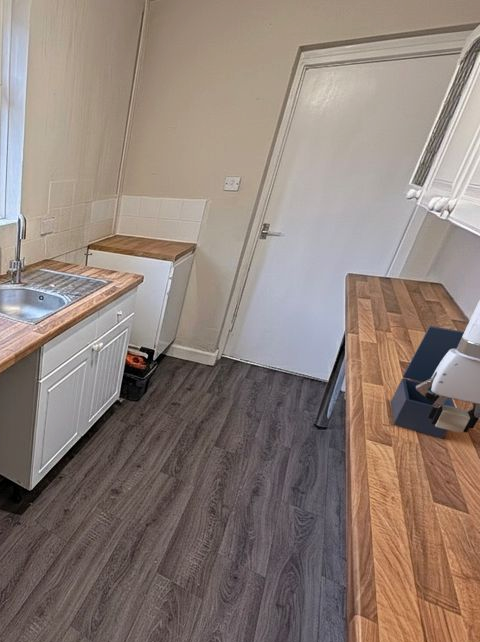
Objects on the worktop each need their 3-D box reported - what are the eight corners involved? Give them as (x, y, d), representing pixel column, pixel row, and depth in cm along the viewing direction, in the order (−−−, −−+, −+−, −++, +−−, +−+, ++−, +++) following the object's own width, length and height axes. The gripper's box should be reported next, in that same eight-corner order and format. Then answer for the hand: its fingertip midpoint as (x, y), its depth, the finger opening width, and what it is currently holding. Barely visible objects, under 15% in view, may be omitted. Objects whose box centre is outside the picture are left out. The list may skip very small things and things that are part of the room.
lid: (481, 336, 102) (481, 334, 102) (429, 327, 107) (429, 325, 108) (449, 388, 110) (449, 386, 111) (402, 377, 115) (402, 375, 116)
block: (459, 425, 92) (467, 410, 90) (462, 433, 89) (470, 417, 87) (433, 419, 94) (440, 404, 92) (435, 426, 91) (442, 411, 90)
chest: (442, 438, 103) (457, 412, 100) (393, 424, 108) (405, 399, 105) (435, 412, 114) (448, 388, 110) (390, 401, 119) (402, 378, 116)
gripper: (545, 355, 82) (502, 432, 89) (425, 335, 92) (394, 406, 99) (557, 367, 77) (510, 448, 84) (428, 345, 87) (396, 419, 94)
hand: (447, 424), depth 91 cm, fingers closed on block, 4 cm apart
